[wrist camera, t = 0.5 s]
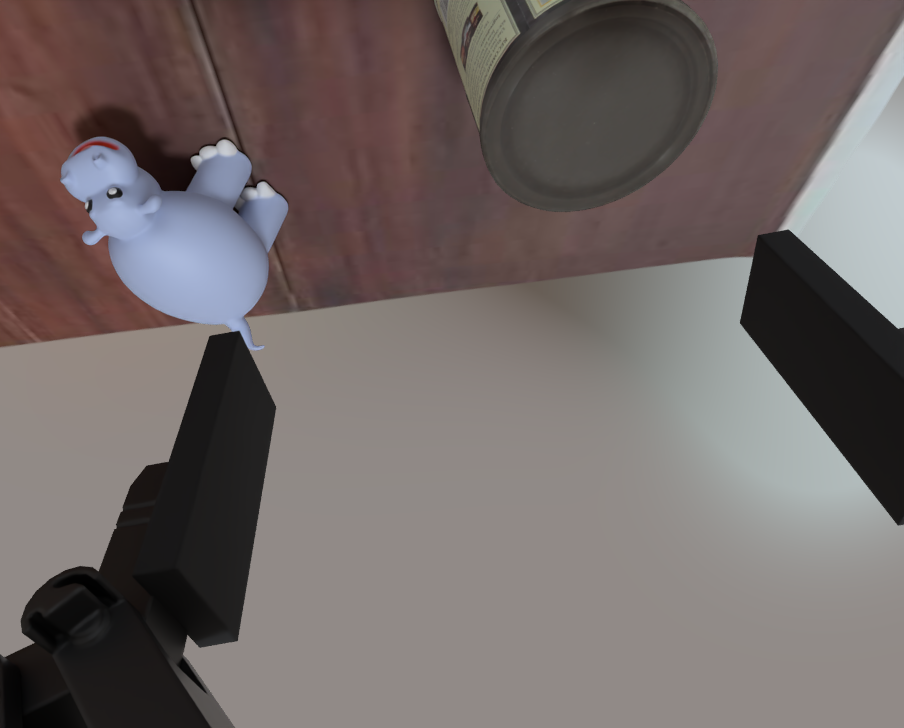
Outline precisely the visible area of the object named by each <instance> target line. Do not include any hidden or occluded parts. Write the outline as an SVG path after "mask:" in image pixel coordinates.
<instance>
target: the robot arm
mask: <svg viewBox="0 0 904 728" xmlns="http://www.w3.org/2000/svg"><path fill="white" fill-rule="evenodd" d="M740 324H741V325H742V326H743V328H744V329H745V330H746V331H747V333H748V334H749V335H750V337H751V338H752V339H753V340H754V342H755V343H756V344H757V346H758V347H759V348H760V349H761V351H762V352H763V353H764V355H765V356H766V357H767V358H768V360H769V361H770V362H771V363H772V365H773V366H774V367H775V369H776V370H777V371H778V372H779V374H780V375H781V376H782V377H783V379H784V380H785V381H786V383H787V384H788V385H789V386H790V388H791V389H792V390H793V392H794V393H795V394H796V395H797V397H798V398H799V399H800V401H801V402H802V403H803V405H804V406H805V407H806V408H807V410H808V411H809V412H810V413H811V415H812V416H813V417H814V418H815V420H816V421H817V422H818V424H819V425H820V426H821V428H822V429H823V430H824V431H825V432H826V434H827V435H828V436H829V438H830V439H831V440H832V442H833V443H834V444H835V445H836V447H837V448H838V449H839V451H840V452H841V453H842V454H843V456H844V457H845V458H846V460H847V461H848V462H849V463H850V464H851V466H852V467H853V469H854V470H855V471H856V472H857V473H858V475H859V476H860V477H861V479H862V480H863V481H864V483H865V484H866V485H867V486H868V488H869V489H870V490H871V491H872V493H873V494H874V495H875V497H876V498H877V499H878V501H879V502H880V503H881V504H882V506H883V507H884V508H885V509H886V511H887V512H888V513H889V515H890V516H891V517H892V518H893V520H894V521H895V522H896V523H897V525H903V524H904V328H900V329H897V328H896V327H895V326H894V325H893V324H892V323H891V322H890V321H889V320H888V319H886V318H885V317H884V316H883V315H882V314H881V313H880V312H879V311H878V310H877V309H875V308H874V307H873V306H872V305H871V304H870V303H869V302H868V301H867V300H865V299H864V298H863V297H862V296H861V295H860V294H859V293H858V292H857V291H856V290H854V289H853V288H852V287H851V286H850V285H849V284H848V283H847V282H846V281H845V280H844V279H842V278H841V277H840V276H839V275H838V274H837V273H836V272H835V271H834V270H833V269H831V268H830V267H829V266H828V265H827V264H826V263H825V262H824V261H823V260H822V259H820V258H819V257H818V256H817V255H816V254H815V253H814V252H813V251H812V250H810V249H809V248H808V247H807V246H806V245H805V244H804V243H803V242H802V241H801V240H800V239H798V238H797V237H796V236H795V235H794V234H793V233H792V232H791V231H790V230H784V231H778V232H773V233H768V234H762V235H758V238H757V242H756V247H755V252H754V257H753V262H752V267H751V272H750V276H749V282H748V286H747V291H746V296H745V301H744V305H743V310H742V315H741V320H740ZM275 410H276V406H275V404H274V402H273V400H272V398H271V395H270V393H269V391H268V389H267V387H266V385H265V383H264V381H263V379H262V376H261V374H260V372H259V370H258V368H257V366H256V364H255V362H254V360H253V358H252V356H251V354H250V351H249V349H248V347H247V345H246V343H245V341H244V339H243V337H242V335H241V333H240V331H234V332H229V333H224V334H218V335H212V336H210V337H209V340H208V343H207V346H206V349H205V352H204V355H203V358H202V361H201V364H200V367H199V370H198V374H197V376H196V380H195V382H194V386H193V389H192V392H191V395H190V398H189V401H188V404H187V407H186V410H185V413H184V416H183V420H182V423H181V425H180V429H179V432H178V435H177V438H176V441H175V444H174V447H173V450H172V453H171V456H170V459H169V462H165V463H159V464H154V465H148V466H146V467H145V469H144V470H143V471H142V472H141V474H140V475H139V476H138V477H137V479H136V480H135V481H134V482H133V484H132V485H131V486H130V489H129V491H128V494H127V497H126V499H125V502H124V505H123V511H122V512H121V513H120V516H119V518H118V521H117V524H116V525H117V529H114V532H113V534H112V537H111V540H110V543H109V545H108V548H107V551H106V553H105V556H104V559H103V562H102V564H101V567H100V569H99V572H98V571H97V570H96V569H94V568H93V567H83V566H79V567H75V568H72V569H68V570H65V571H63V572H61V573H60V574H58V575H56V576H54V577H53V578H51V579H49V580H48V581H47V582H46V583H45V584H44V585H43V586H42V587H41V588H39V589H38V590H37V591H36V592H35V594H34V595H33V596H32V598H31V599H30V601H29V602H28V604H27V605H26V607H25V610H24V612H23V615H22V618H21V627H22V633H23V634H24V635H26V636H27V637H29V638H30V639H31V640H33V641H34V642H35V643H34V644H32V645H30V646H27V647H25V648H23V649H21V650H19V651H17V652H15V653H13V654H11V655H8V656H7V657H3V656H2V655H0V728H235V727H234V726H233V724H232V723H231V721H230V720H229V719H228V717H227V715H226V714H225V713H224V711H223V710H222V708H221V707H220V705H219V704H218V702H217V701H216V700H215V698H214V697H213V695H212V694H211V692H210V691H209V689H208V688H207V687H206V685H205V684H204V682H203V681H202V679H201V678H200V677H199V675H198V674H197V672H196V671H195V669H194V668H193V667H192V665H191V664H190V662H189V661H188V660H187V659H186V658H185V657H184V656H183V652H184V648H185V642H186V639H187V635H188V636H189V637H190V638H191V639H192V640H193V641H194V642H195V643H196V644H197V645H198V646H199V647H200V648H201V647H206V646H212V645H217V644H223V643H228V642H235V641H238V635H239V629H240V623H241V617H242V611H243V605H244V599H245V593H246V587H247V581H248V575H249V569H250V562H251V557H252V550H253V544H254V538H255V532H256V526H257V520H258V514H259V508H260V502H261V496H262V489H263V484H264V478H265V472H266V466H267V459H268V453H269V447H270V441H271V435H272V429H273V423H274V417H275Z"/></svg>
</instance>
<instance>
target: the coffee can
mask: <svg viewBox="0 0 904 728" xmlns="http://www.w3.org/2000/svg"><path fill="white" fill-rule="evenodd" d="M434 2H435V6H436V9H437V12H438V15H439V17H440V19H441V21H442V23H443V26H444V29H445V32H446V35H447V38H448V41H449V44H450V47H451V50H452V53H453V56H454V59H455V61H456V65H457V68H458V71H459V74H460V77H461V80H462V83H463V86H464V89H465V92H466V97H467V100H468V102H469V105H470V108H471V111H472V114H473V117H474V119H475V122H476V125H477V128H478V131H479V134H480V142H481V148H482V152H483V156H484V159H485V162H486V165H487V168H488V170H489V172H490V174H491V176H492V177H493V179H494V180H495V182H496V183H497V185H498V186H499V187H500V188H501V189H502V190H503V191H504V192H505V193H506V194H508V195H509V196H510V197H512V198H514V199H515V200H517V201H518V202H520V203H523V204H525V205H528V206H531V207H533V208H537V209H541V210H546V211H553V212H571V211H580V210H586V209H591V208H595V207H599V206H602V205H605V204H608V203H611V202H613V201H616V200H618V199H621V198H623V197H625V196H627V195H629V194H631V193H633V192H634V191H636V190H638V189H640V188H641V187H643V186H644V185H646V184H647V183H649V182H650V181H652V180H653V179H654V178H655V177H657V176H658V175H659V174H661V173H662V172H663V171H664V170H665V169H666V168H668V167H669V166H670V165H671V164H672V163H673V162H674V161H675V160H676V159H677V158H678V157H679V155H680V154H681V153H682V152H683V151H684V150H685V148H686V147H687V146H688V145H689V143H690V142H691V141H692V139H693V138H694V137H695V135H696V134H697V132H698V130H699V129H700V127H701V125H702V123H703V122H704V120H705V118H706V115H707V113H708V111H709V108H710V106H711V103H712V100H713V96H714V93H715V89H716V84H717V73H718V61H717V53H716V48H715V45H714V41H713V38H712V36H711V34H710V32H709V30H708V28H707V26H706V25H705V23H704V22H703V21H702V19H701V18H700V17H699V16H698V15H697V14H696V13H695V12H694V11H693V10H692V9H691V8H690V7H689V6H688V5H686V4H685V3H684V2H682V1H681V0H434Z"/></svg>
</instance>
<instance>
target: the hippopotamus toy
mask: <svg viewBox="0 0 904 728" xmlns="http://www.w3.org/2000/svg"><path fill="white" fill-rule="evenodd" d="M199 154H200V155H199V156H193V157H192V158H191V163H192V165H193V167H194V168H195V169H196V170H197V172H196V174H195V176H194V177H193V179H192V181H191V183H190V185H189V186H188V188H187V190H186V192H184V191H162V190H161V188H160V186H159V184H158V182H157V181H156V180H155V179H154V178H153V177H152V176H151V175H150V174H149V173H148V172H146V171H145V170H143V169H142V168H140V167H138V166H137V163H136V160H135V158H134V156H133V155H132V153H131V152H130V150H129V149H128V148H127V147H126V146H125V145H123V144H122V143H120V142H119V141H117V140H115V139H112V138H109V137H95V138H91V139H89V140H87V141H85V142H83V143H81V144H80V145H79V146H77V147H76V148H75V149H74V150H73V151H72V153H71V154H70V155H69V157H68V160H67V161H66V162H64V164H63V165H62V169H61V175H62V177H61V179H60V181H61V182H62V183H63V184H64V185H65V187H66V188H67V190H68V191H69V192H70V193H71V194H72V195H73V196H74V197H76V198H77V199H79V200H81V201H83V202H85V208H86V210H87V212H88V213H89V215H90V217H91V219H92V220H93V221H94V222H95V224H96V225H97V229H96V230H95V231H86V232H85V233H84V234H83V236H82V239H83V241H84V242H85V243H86V244H88V245H94V244H96V243H97V242H98V241H99V240H100V239H101V238H102V237H103V236H105V235H109V240H108V246H109V253H110V257H111V261H112V263H113V266H114V268H115V270H116V272H117V274H118V275H119V277H120V278H121V280H122V281H123V282H124V284H125V285H126V286H127V287H128V288H129V289H130V290H131V291H132V292H133V293H134V294H135V295H136V296H138V297H139V298H140V299H141V300H143V301H144V302H146V303H147V304H149V305H150V306H152V307H154V308H155V309H157V310H159V311H161V312H163V313H166V314H168V315H171V316H174V317H176V318H180V319H183V320H187V321H191V322H196V323H202V324H213V325H218V324H225V325H227V326H228V327H229V328H230V329H231V331H232V332H234V331H240V333H241V335H242V337H243V339H244V341H245V343H246V345H247V347H248V349H251V350H261V349H263V348H264V345H262V346H255V345H254V344H253V341H252V335H251V330H250V327H249V325H248V323H247V321H246V320H245V318H244V315H245V314H246V313H247V312H249V311H250V310H251V309H252V308H253V307H254V306H255V304H256V303H257V302H258V300H259V299H260V297H261V295H262V294H263V292H264V289H265V287H266V283H267V279H268V271H269V261H268V255H267V254H268V252H269V250H270V248H271V246H272V244H273V242H274V240H275V238H276V236H277V234H278V232H279V229H280V227H281V225H282V223H283V221H284V219H285V217H286V215H287V212H288V203H287V202H286V200H285V199H284V198H283V197H282V196H281V195H279V194H278V193H276V192H275V191H274V190H273V189H272V188H271V187H270V186H269V185H268V184H267V183H266V182H260V183H258V184H257V188H253V187H247V188H244V186H245V184H246V182H247V181H248V179H249V177H250V174H251V170H252V166H251V162H250V160H249V159H248V158H247V157H246V156H245V155H244V154H243V153H241V152H239V151H238V150H237V149H236V147H235V145H234V144H233V143H232V142H230V141H229V140H221V141H219V142H218V143H217V145H216V146H206V147H203V148H202V149H201V150H200V152H199ZM243 188H244V189H243ZM234 207H235V208H236V209H237V210H238V211H239V213H238V214H237V213H236V212H235V211H233V208H234Z"/></svg>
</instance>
